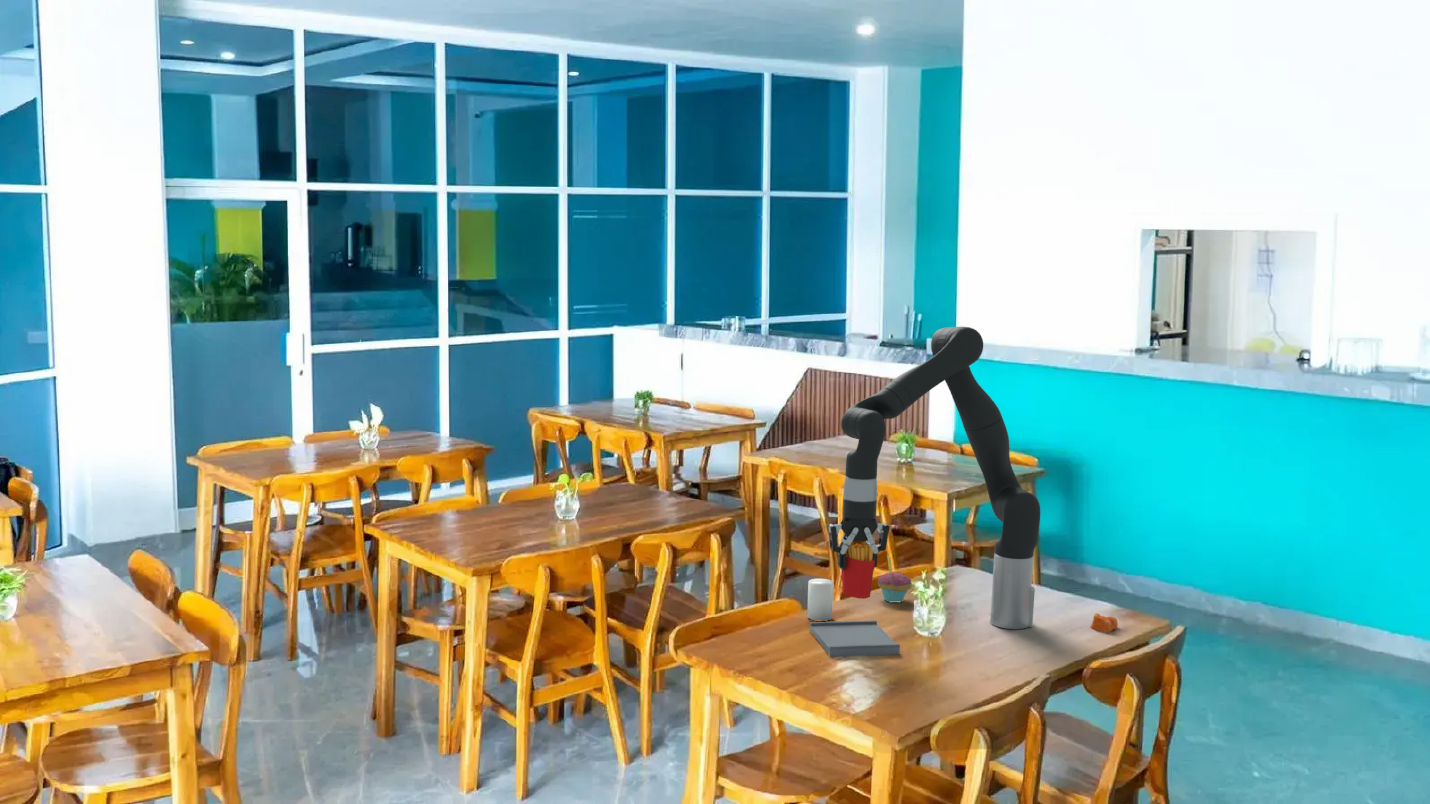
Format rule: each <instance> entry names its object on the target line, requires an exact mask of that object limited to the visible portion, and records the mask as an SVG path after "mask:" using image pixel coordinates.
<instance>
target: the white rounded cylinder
mask: <svg viewBox="0 0 1430 804" xmlns="http://www.w3.org/2000/svg"><path fill="white" fill-rule="evenodd" d="M807 584H808V585H807V586H808V587H807V588H808V589H807V607H806V608H807V611H808V610H810V611H808V612H806V614H807V615H806V618H807V617H808V618H810V619H813V620H821V621H825V620H830V621H832V620H833V604H834V603H833V601H834V581H833V580H831V579H827V578H812V579H809V580H808V582H807ZM808 618H807V619H808ZM831 619H832V620H831Z"/></svg>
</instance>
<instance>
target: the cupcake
mask: <svg viewBox="0 0 1430 804" xmlns="http://www.w3.org/2000/svg"><path fill="white" fill-rule="evenodd" d="M887 565H888V571H889V572H887V573H886V572H885V573H883V574H881V576H879V578H877V584H878V587H879V588H880V589H881V591H882V592H881V593H882V596H883V600H884V601H885V600H886V601H885V602H887V601H902V600H903V601H904V599H905V596H906V594H907V592H908V590H911V589H912V585H913V583H912V579H910V578H909V577H908V576H907V575H906V574H903V573H901V572H894V571H893V570H892V563H891V556H890V555H889V553H887ZM903 601H902V602H903Z"/></svg>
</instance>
